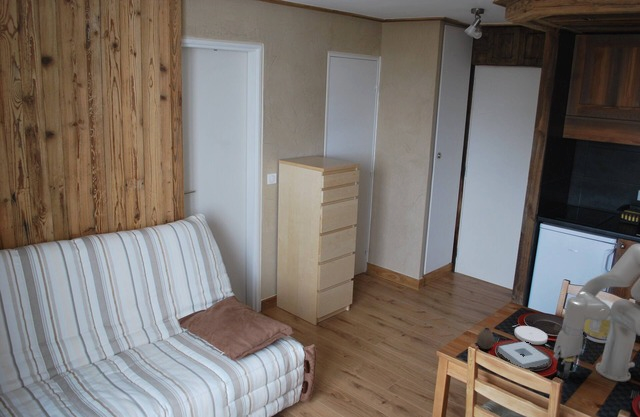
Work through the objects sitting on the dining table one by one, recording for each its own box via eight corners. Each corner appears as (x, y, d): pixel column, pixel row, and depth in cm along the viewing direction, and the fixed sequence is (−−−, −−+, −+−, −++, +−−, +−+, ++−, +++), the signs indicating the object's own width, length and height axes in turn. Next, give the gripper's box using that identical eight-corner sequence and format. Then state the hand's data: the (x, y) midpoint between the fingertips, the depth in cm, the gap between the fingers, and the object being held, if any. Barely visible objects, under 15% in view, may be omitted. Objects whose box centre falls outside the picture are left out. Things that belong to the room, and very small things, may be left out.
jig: (522, 349, 232) (524, 341, 231) (547, 366, 220) (549, 358, 219) (497, 354, 227) (498, 346, 226) (521, 372, 215) (522, 364, 213)
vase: (493, 352, 229) (496, 333, 226) (476, 349, 230) (479, 331, 228) (491, 344, 235) (494, 326, 233) (475, 341, 236) (478, 323, 234)
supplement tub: (587, 328, 255) (594, 295, 251) (615, 338, 247) (622, 304, 242) (577, 336, 247) (584, 302, 242) (605, 347, 239) (613, 312, 234)
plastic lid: (507, 336, 243) (508, 331, 243) (523, 327, 252) (524, 322, 252) (537, 349, 233) (538, 344, 233) (552, 340, 242) (553, 335, 242)
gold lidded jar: (562, 370, 218) (566, 350, 216) (574, 378, 213) (578, 358, 210) (551, 373, 216) (555, 353, 213) (563, 381, 210) (567, 361, 208)
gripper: (580, 321, 215) (571, 361, 220) (549, 327, 209) (540, 368, 214) (596, 330, 208) (586, 371, 214) (564, 336, 202) (555, 379, 207)
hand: (564, 369), depth 214 cm, fingers closed on gold lidded jar, 4 cm apart
